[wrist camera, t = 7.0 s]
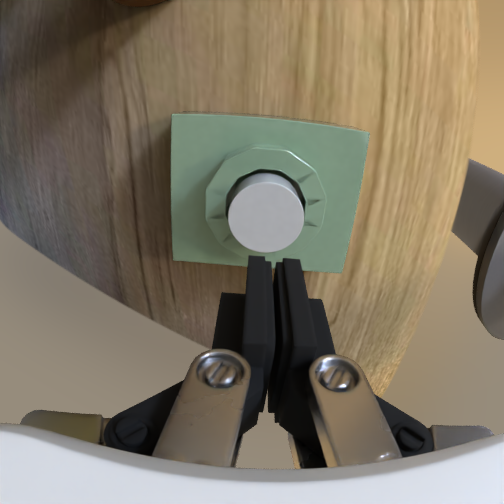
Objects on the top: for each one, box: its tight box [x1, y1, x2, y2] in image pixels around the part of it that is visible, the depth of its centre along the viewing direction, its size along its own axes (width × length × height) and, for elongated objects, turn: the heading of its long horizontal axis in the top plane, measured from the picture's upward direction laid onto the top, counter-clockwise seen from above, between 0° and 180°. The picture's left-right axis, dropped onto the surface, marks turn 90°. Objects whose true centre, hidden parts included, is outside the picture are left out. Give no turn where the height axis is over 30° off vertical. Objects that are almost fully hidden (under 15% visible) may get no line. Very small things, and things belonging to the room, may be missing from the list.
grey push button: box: [228, 173, 304, 253], centre depth 17 cm, size 4×4×2 cm
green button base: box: [171, 111, 370, 273], centre depth 20 cm, size 12×10×5 cm
